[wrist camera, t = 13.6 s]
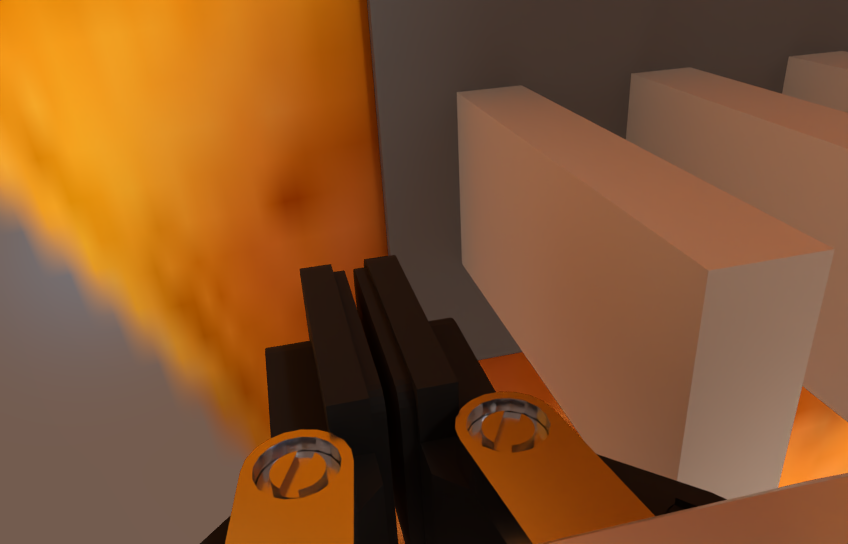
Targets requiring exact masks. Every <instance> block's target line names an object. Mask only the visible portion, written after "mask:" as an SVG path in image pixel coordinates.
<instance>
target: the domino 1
mask: <svg viewBox="0 0 848 544" xmlns="http://www.w3.org/2000/svg"><path fill="white" fill-rule="evenodd" d="M457 119H458V152H459V184H460V217H461V250H462V264H463V266H464V267H465V269H466V270H467V272H468V273H469V275H470V276H471V278H472V279H473V280H474V282H475V283H476V285H477V286H478V288H479V289H480V291H481V292H482V293H483V295H484V296H485V298H486V299H487V301H488V302H489V304H490V305H491V307H492V308H493V309H494V311H495V312H496V314H497V315H498V317H499V318H500V320H501V321H502V323H503V324H504V325H505V327H506V328H507V330H508V331H509V333H510V334H511V336H512V337H513V339H514V340H515V341H516V343H517V344H518V346H519V347H520V349H521V350H522V352H523V353H524V354H525V356H526V357H527V359H528V360H529V362H530V363H531V365H532V366H533V368H534V369H535V370H536V372H537V373H538V375H539V376H540V378H541V379H542V381H543V382H544V384H545V385H546V386H547V388H548V389H549V391H550V392H551V394H552V395H553V397H554V398H555V400H556V401H557V402H558V404H559V405H560V407H561V408H562V410H563V411H564V413H565V414H566V415H567V417H568V418H569V420H570V421H571V423H572V424H573V426H574V427H575V429H576V430H577V431H578V433H579V434H580V436H581V437H582V439H583V440H584V441H585V443H586V444H587V445H588V446H589V447H590V448H591V449H592V450H593V451H594V452H595V453H596V454H598V455H601V456H604V457H607V458H610V459H613V460H616V461H619V462H622V463H625V464H628V465H631V466H634V467H637V468H640V469H643V470H646V471H649V472H652V473H655V474H658V475H661V476H664V477H667V478H670V479H673V480H676V481H679V482H682V483H685V484H688V485H691V486H694V487H697V488H700V489H703V490H706V491H709V492H712V493H714V494H716V495H718V496H721V497H723V498H725V499H727V500H728V499H732V498H737V497H741V496H745V495H750V494H754V493H758V492H763V491H767V490H771V489H776V488H778V485H779V481H780V477H781V473H782V468H783V464H784V460H785V456H786V452H787V447H788V443H789V439H790V435H791V431H792V426H793V422H794V418H795V414H796V410H797V405H798V401H799V397H800V393H801V389H802V385H803V380H804V376H805V372H806V368H807V364H808V359H809V355H810V351H811V347H812V343H813V338H814V334H815V330H816V326H817V322H818V317H819V313H820V309H821V305H822V301H823V297H824V292H825V288H826V284H827V280H828V276H829V271H830V267H831V263H832V259H833V255H834V250H835V249H834V248H832V247H830V246H828V245H826V244H824V243H822V242H820V241H818V240H816V239H814V238H813V237H811V236H809V235H807V234H805V233H803V232H801V231H799V230H797V229H795V228H793V227H792V226H790V225H788V224H786V223H784V222H782V221H780V220H778V219H776V218H774V217H772V216H771V215H769V214H767V213H765V212H763V211H761V210H759V209H757V208H755V207H753V206H751V205H750V204H748V203H746V202H744V201H742V200H740V199H738V198H736V197H734V196H732V195H730V194H728V193H727V192H725V191H723V190H721V189H719V188H717V187H715V186H713V185H711V184H709V183H707V182H706V181H704V180H702V179H700V178H698V177H696V176H694V175H692V174H690V173H688V172H686V171H685V170H683V169H681V168H679V167H677V166H675V165H673V164H671V163H669V162H667V161H665V160H663V159H662V158H660V157H658V156H656V155H654V154H652V153H650V152H648V151H646V150H644V149H642V148H641V147H639V146H637V145H635V144H633V143H631V142H629V141H627V140H625V139H623V138H621V137H620V136H618V135H616V134H614V133H612V132H610V131H608V130H606V129H604V128H602V127H600V126H599V125H597V124H595V123H593V122H591V121H589V120H587V119H585V118H583V117H581V116H579V115H577V114H576V113H574V112H572V111H570V110H568V109H566V108H564V107H562V106H560V105H558V104H556V103H555V102H553V101H551V100H549V99H547V98H545V97H543V96H541V95H539V94H537V93H535V92H534V91H532V90H530V89H528V88H526V87H524V86H522V85H519V86H510V87H500V88H491V89H482V90H472V91H463V92H457Z"/></svg>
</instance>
